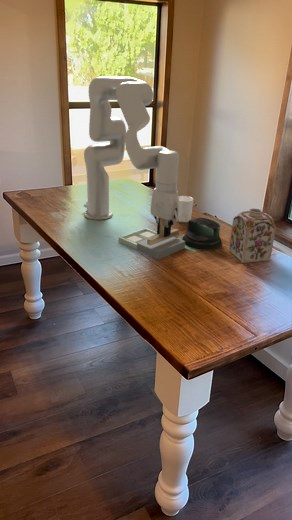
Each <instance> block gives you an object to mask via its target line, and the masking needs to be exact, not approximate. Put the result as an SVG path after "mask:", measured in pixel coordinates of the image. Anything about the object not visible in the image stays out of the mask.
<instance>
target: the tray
mask: <svg viewBox="0 0 292 520" xmlns="http://www.w3.org/2000/svg"><path fill="white" fill-rule="evenodd" d="M144 232H150V233H153V234H155V236H157V235H158V234H157V231H154V230H153V229H152V230H151V229H150V228H147V227H143V228H141V229H138V230H134V231H132V232H130V233H127V234H124V235H120V236H119V237H118V243H120V244H122V245H123V246H126V247H128V248H131V249H133V250H135V251H137V244H136V243H134V242H132V241H129V240H127V239H126V238H129V237H132V236H137V237H139V234H141V233H144ZM143 240H144V239H143Z"/></svg>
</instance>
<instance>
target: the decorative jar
mask: <svg viewBox="0 0 292 520" xmlns="http://www.w3.org/2000/svg"><path fill="white" fill-rule="evenodd" d="M232 220H233V221H232V224H231V225H232V226H231V232H230V239H229V247H228V250H229V252H230V253H232V255H233V256H235V257H236V259H237V260H238V261H239V262H241V263H242V264H245V263H248V264H249V263H257V262H259V263H260V262H269V261H271V257H272V252H273V246H274V241H275V237H276V235H275V234H276V229H277V226H276V223H275V222H274V218H273V217H272V216H271V215H270V214H268V213H266V212H263V210H262V209H259V208H249V210H244V211H242V212H240V213H238V214H237V215H235V216H234V217H233V219H232Z"/></svg>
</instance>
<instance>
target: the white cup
mask: <svg viewBox="0 0 292 520" xmlns="http://www.w3.org/2000/svg"><path fill="white" fill-rule="evenodd" d="M178 197H179V213H178V219H179V222H178V223H188V222H189V220H190V219H192V214H193V212H192V211H193V208H194V207H193V206H194V200H195V199H194V198H193V197H191V196H188V195H178Z"/></svg>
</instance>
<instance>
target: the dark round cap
mask: <svg viewBox="0 0 292 520" xmlns="http://www.w3.org/2000/svg"><path fill="white" fill-rule="evenodd" d="M187 223H188V225H187V229H186V233H184V234H182V235H180V236H178V237H177V238H178V239H181V240H184V241H185V248H184V249H186V250H188V251H192V252H198V251H212V250H213V251H214V250H216V249H218V248H220V247H222V242H223V241H222V238H221V237H220V230H221V229H220V228H221V225H220V223H218V222H217V221H216V220H213V219H210V218H206V217H194V218H191V219H190V220H189V222H187ZM216 252H218V253H219V250H216Z"/></svg>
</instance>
